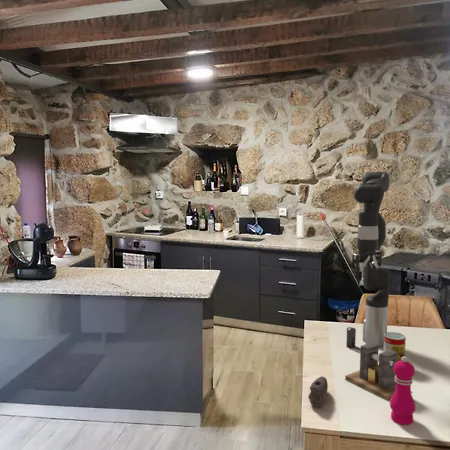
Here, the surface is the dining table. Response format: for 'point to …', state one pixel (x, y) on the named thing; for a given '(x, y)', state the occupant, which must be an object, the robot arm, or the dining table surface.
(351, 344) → the shaft
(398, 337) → the canned food
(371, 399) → the dining table surface
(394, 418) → the pepper mill
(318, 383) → the perforated stone tool
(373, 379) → the spacer
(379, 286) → the robot arm
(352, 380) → the shaft stand
